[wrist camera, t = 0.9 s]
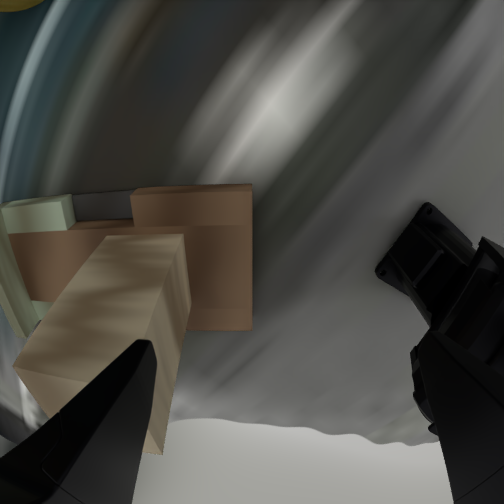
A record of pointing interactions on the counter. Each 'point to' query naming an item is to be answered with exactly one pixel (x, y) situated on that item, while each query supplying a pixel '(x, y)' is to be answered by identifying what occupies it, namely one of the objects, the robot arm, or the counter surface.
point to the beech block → (113, 324)
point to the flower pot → (17, 5)
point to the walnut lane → (139, 223)
